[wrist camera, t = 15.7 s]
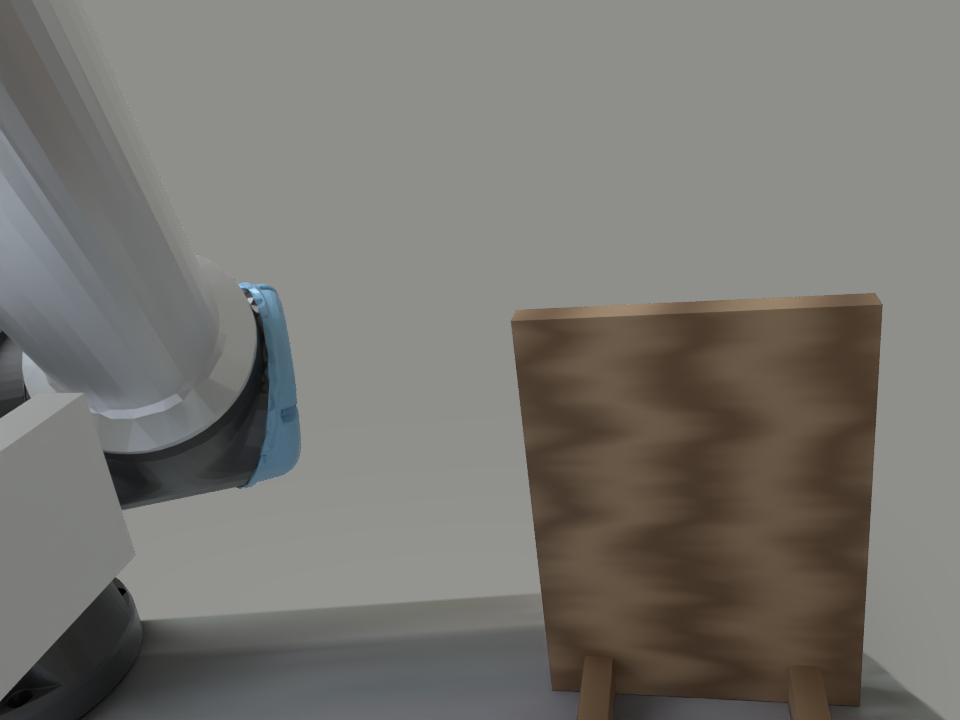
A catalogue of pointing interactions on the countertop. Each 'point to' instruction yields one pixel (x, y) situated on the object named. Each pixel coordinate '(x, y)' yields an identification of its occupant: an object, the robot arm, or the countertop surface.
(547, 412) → the wooden cup stand
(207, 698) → the countertop surface
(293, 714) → the countertop surface
